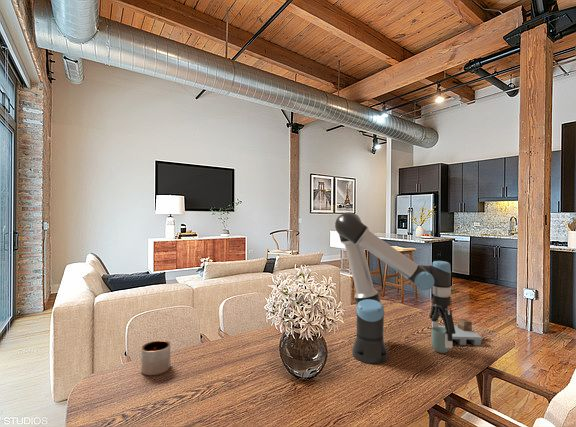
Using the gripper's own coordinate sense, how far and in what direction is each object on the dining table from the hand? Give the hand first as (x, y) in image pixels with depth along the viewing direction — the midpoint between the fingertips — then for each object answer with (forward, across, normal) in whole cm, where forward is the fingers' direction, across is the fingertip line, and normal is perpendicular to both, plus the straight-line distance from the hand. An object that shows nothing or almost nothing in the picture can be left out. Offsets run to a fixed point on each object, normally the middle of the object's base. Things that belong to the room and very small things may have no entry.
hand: (441, 341), depth 143 cm
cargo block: (+1, +17, -20) cm, 26 cm away
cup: (+5, 0, 0) cm, 5 cm away
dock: (+5, +14, -14) cm, 20 cm away
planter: (+3, -22, +124) cm, 125 cm away
